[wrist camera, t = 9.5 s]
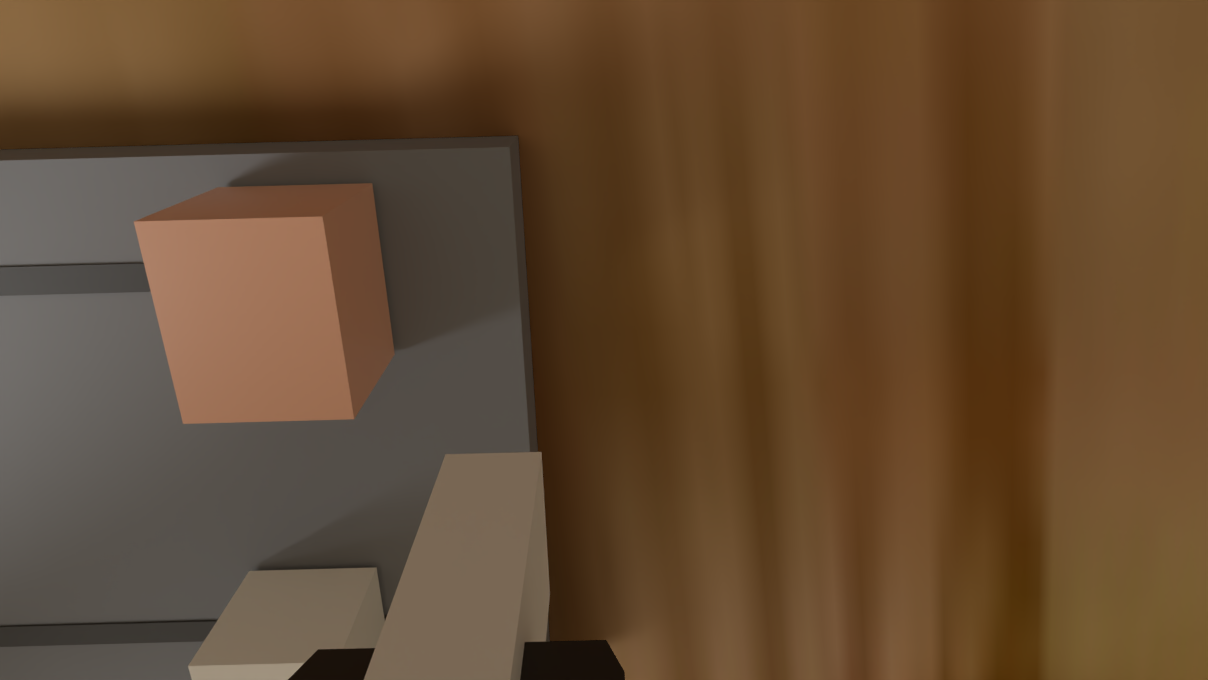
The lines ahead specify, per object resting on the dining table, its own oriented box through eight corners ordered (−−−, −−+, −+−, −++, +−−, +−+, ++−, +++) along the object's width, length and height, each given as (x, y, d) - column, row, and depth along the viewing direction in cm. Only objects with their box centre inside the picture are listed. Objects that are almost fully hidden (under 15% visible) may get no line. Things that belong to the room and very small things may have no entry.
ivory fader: (276, 688, 33) (224, 795, 28) (249, 570, 31) (187, 665, 26) (394, 685, 33) (362, 792, 28) (376, 567, 31) (337, 661, 26)
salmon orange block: (252, 358, 28) (183, 423, 23) (217, 187, 26) (133, 221, 21) (394, 354, 28) (354, 419, 23) (372, 183, 26) (322, 216, 21)
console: (-5, 677, 37) (-57, 732, 34) (-211, 155, 28) (-303, 168, 25) (551, 661, 37) (547, 715, 34) (518, 135, 28) (509, 147, 25)
